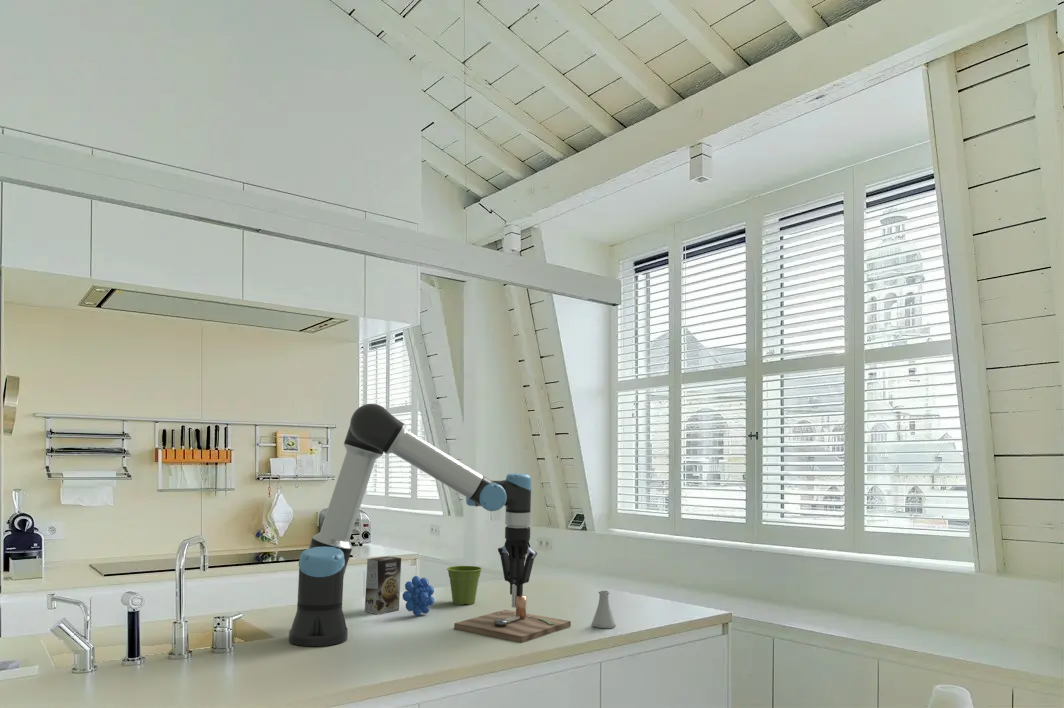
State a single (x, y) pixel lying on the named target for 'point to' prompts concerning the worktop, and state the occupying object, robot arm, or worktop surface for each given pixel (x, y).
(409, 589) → the grapes
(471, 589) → the plant pot
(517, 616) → the crank handle
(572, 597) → the worktop surface
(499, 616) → the dial board
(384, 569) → the coffee box
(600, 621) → the flask
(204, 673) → the worktop surface
